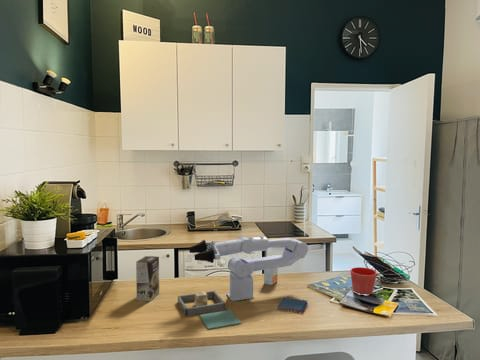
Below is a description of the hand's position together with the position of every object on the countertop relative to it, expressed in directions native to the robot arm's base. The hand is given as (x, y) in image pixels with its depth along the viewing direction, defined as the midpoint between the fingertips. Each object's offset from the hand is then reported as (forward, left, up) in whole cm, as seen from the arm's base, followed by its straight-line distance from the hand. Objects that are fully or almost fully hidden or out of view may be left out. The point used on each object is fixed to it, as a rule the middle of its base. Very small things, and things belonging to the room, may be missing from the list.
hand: (192, 253), depth 145 cm
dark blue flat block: (-36, +17, -21) cm, 45 cm away
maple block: (-3, +3, -21) cm, 21 cm away
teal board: (-6, +17, -20) cm, 27 cm away
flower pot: (-71, +16, -21) cm, 75 cm away
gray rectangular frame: (-3, +3, -20) cm, 21 cm away
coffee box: (+15, -14, -21) cm, 29 cm away
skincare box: (-40, -10, -21) cm, 46 cm away
